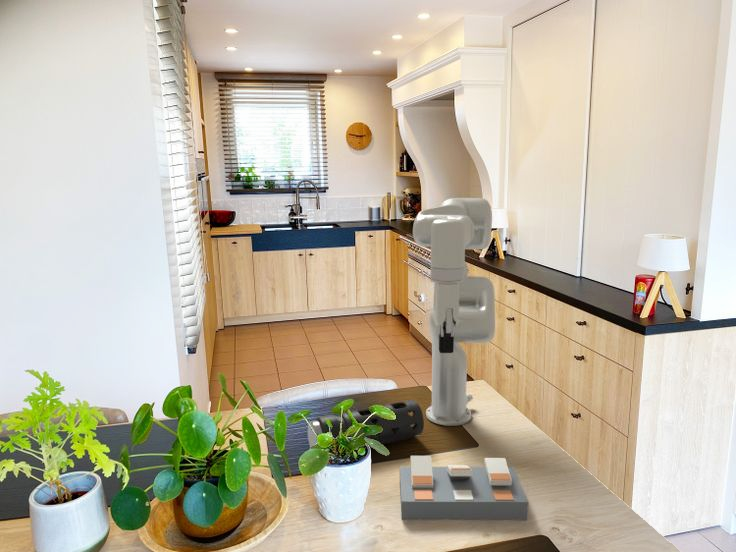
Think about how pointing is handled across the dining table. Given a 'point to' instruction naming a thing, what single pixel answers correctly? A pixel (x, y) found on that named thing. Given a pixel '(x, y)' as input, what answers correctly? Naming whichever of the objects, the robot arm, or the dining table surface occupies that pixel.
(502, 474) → the switch
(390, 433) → the muzzle brake
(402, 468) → the console
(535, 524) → the dining table surface
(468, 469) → the switch
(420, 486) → the switch
